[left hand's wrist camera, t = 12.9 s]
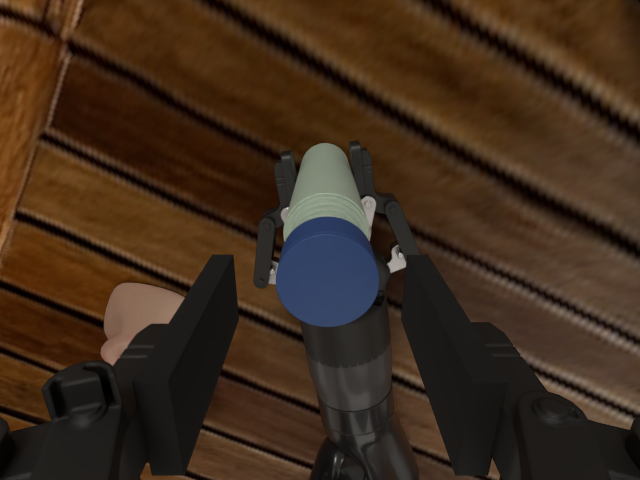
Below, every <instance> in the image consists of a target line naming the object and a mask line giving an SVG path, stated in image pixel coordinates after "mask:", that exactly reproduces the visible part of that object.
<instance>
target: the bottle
mask: <svg viewBox="0 0 640 480" xmlns="http://www.w3.org/2000/svg"><path fill="white" fill-rule="evenodd" d="M326 216H330V217H337V218H342V219H344V220H347V221H349V222H351V223H353V224H354V225H356V226H357V227H358V228H359V229H361V230H362V231H363V233H364V234H365V235H366V237H367V238H368V240H369V237H370V229H369V224H368V220H367V217H366V214H365V211H364V208H363V205H362V202H361V199H360V196H359V193H358V190H357V186H356V183H355V180H354V177H353V174H352V171H351V168H350V165H349V162H348V159H347V157H346V155H345V153H344V152H343V151H342V150H341V149H340V148H339V147H337V146H335V145H333V144H329V143H322V144H317V145H315V146H313V147H311V148H310V149H309V150H308V151H307V152H306V154H305V155H304V157H303V160H302V163H301V166H300V170H299V174H298V177H297V181H296V184H295V188H294V192H293V195H292V199H291V202H290V206H289V209H288V213H287V217H286V220H285V224H284V230H283V236H284V242H285V241H286V239H287V237H288V236H289V234H290V233H291V232H292V231H293V230H294V229H295V228H296V227H297V226H299V225H300V224H302V223H303V222H305V221H308V220H310V219H313V218H317V217H326Z"/></svg>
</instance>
